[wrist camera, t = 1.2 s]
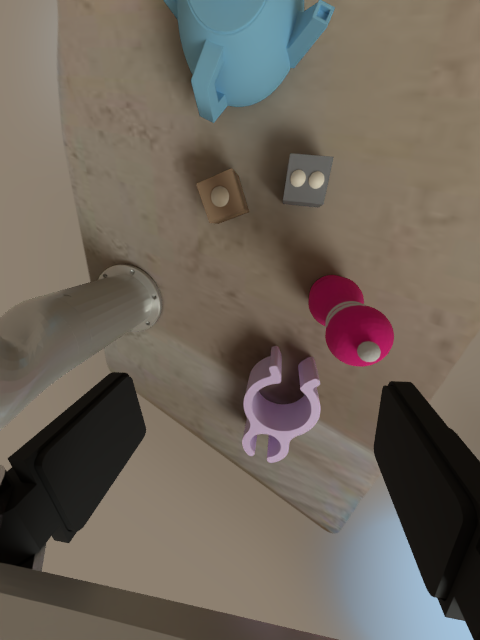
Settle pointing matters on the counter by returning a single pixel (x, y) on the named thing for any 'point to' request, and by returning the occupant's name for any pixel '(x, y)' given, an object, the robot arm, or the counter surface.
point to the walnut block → (222, 196)
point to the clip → (279, 406)
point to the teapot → (244, 46)
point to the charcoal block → (307, 180)
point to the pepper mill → (350, 322)
